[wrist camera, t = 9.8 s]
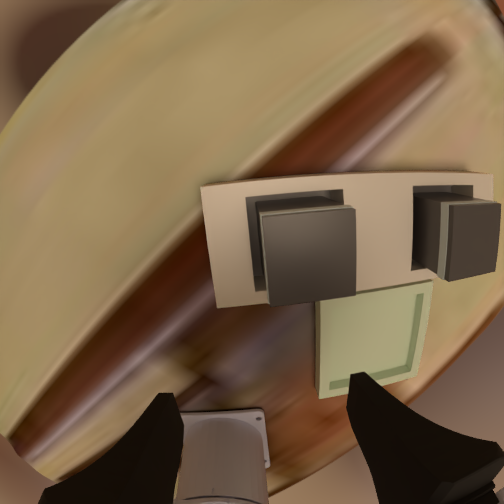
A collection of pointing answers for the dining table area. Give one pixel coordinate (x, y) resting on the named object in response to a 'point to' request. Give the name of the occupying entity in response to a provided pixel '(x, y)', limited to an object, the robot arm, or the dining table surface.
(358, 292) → the tray
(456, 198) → the plug
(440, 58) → the dining table surface
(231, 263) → the strip
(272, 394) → the dining table surface
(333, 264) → the twin plug
